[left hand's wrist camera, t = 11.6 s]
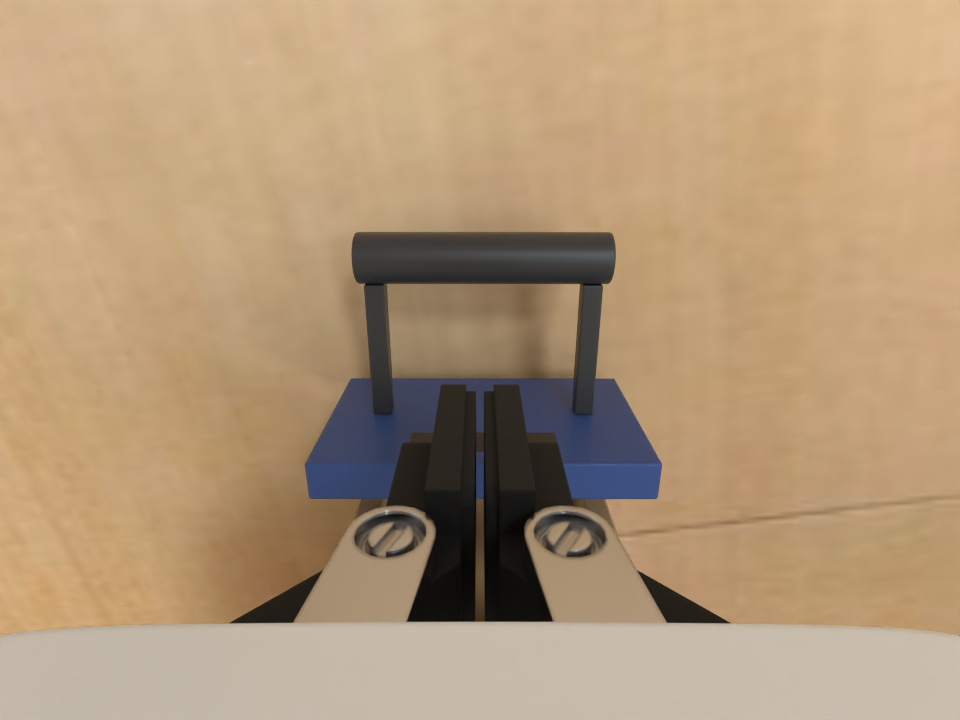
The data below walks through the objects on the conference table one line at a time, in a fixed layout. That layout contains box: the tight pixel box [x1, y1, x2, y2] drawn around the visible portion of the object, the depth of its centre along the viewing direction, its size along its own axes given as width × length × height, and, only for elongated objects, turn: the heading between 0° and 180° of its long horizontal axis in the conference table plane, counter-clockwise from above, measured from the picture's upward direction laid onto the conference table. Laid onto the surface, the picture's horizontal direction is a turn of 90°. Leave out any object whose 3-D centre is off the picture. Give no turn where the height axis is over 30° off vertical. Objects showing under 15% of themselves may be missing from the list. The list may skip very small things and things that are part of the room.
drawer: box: [305, 232, 662, 622], centre depth 21 cm, size 25×10×6 cm, turn 0°
